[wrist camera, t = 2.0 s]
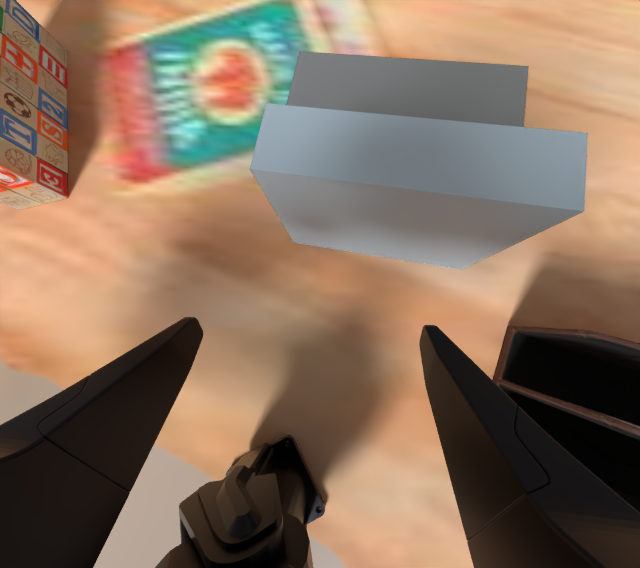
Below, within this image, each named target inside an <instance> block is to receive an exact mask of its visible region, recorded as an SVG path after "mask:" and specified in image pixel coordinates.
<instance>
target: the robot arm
mask: <svg viewBox="0 0 640 568" xmlns="http://www.w3.org/2000/svg"><path fill="white" fill-rule="evenodd" d="M202 338H203V330H202V328H201V326H200V324H199V322H198V320H197V319H196V318H195V317H185V318H183V319H182V320H180V321H178V322H177V323H175V324H173V325H172V326H170V327H168V328H167V329H165V330H163V331H162V332H160V333H158V334H157V335H155V336H153V337H152V338H150V339H148V340H147V341H145V342H143V343H142V344H140V345H138V346H137V347H135V348H133V349H132V350H130V351H128V352H127V353H125V354H123V355H122V356H120V357H118V358H117V359H115V360H114V361H112V362H110V363H109V364H107V365H105V366H104V367H102V368H100V369H99V370H97V371H95V372H94V373H92V374H91V375H90V376H87V377H85V378H84V379H82V380H80V381H79V382H77V383H75V384H74V385H72V386H70V387H68V388H67V389H65V390H63V391H62V392H60V393H58V394H56V395H55V396H53V397H51V398H49V399H47V400H46V401H44V402H42V403H40V404H39V405H37V406H35V407H33V408H31V409H29V410H27V411H26V412H24V413H22V414H20V415H18V416H16V417H15V418H13V419H11V420H9V421H7V422H5V423H3V424H2V425H0V568H93V567H94V564H95V563H96V560H97V558H98V556H99V554H100V552H101V550H102V548H103V546H104V544H105V542H106V540H107V538H108V536H109V534H110V532H111V530H112V528H113V526H114V524H115V522H116V520H117V518H118V516H119V513H120V512H121V510H122V508H123V506H124V504H125V502H126V500H127V498H128V496H129V492H130V491H131V489H132V487H133V485H134V483H135V481H136V479H137V477H138V475H139V473H140V471H141V469H142V467H143V465H144V463H145V461H146V459H147V457H148V455H149V453H150V451H151V449H152V447H153V445H154V443H155V441H156V439H157V437H158V435H159V433H160V431H161V429H162V427H163V425H164V423H165V420H166V418H167V416H168V414H169V412H170V410H171V408H172V406H173V404H174V402H175V400H176V398H177V396H178V394H179V392H180V390H181V388H182V386H183V384H184V382H185V380H186V378H187V376H188V374H189V372H190V369H191V367H192V365H193V362H194V359H195V357H196V354H197V351H198V349H199V346H200V343H201V340H202ZM420 351H421V358H422V365H423V372H424V379H425V385H426V389H427V393H428V397H429V401H430V405H431V408H432V412H433V416H434V419H435V423H436V427H437V431H438V434H439V438H440V442H441V446H442V449H443V453H444V457H445V460H446V464H447V468H448V472H449V475H450V479H451V483H452V487H453V490H454V494H455V498H456V501H457V505H458V509H459V513H460V516H461V520H462V524H463V527H464V531H465V535H466V539H467V540H468V542H467V543H468V547H469V550H470V554H471V558H472V562H473V565H474V568H640V512H638V511H637V510H636V509H635V508H633V507H632V506H631V505H630V504H629V503H627V502H626V501H625V500H624V499H623V498H622V497H620V496H619V495H618V494H617V493H616V492H615V491H613V490H612V489H611V488H610V487H609V486H607V485H606V484H605V483H604V482H603V481H602V480H600V479H599V478H598V477H597V476H596V475H595V474H593V473H592V472H591V471H590V470H589V469H588V468H586V467H585V466H584V465H583V464H582V463H581V462H579V461H578V460H577V459H576V458H575V457H573V456H572V455H571V454H570V453H569V452H568V451H567V450H565V449H564V448H563V447H562V446H561V445H560V444H559V443H558V442H556V441H555V440H554V439H553V438H552V437H551V436H550V435H548V434H547V433H546V432H545V431H544V430H543V429H542V428H541V427H540V426H539V425H538V424H537V423H536V422H535V421H534V420H533V419H531V418H530V417H529V416H528V415H527V414H526V413H525V412H524V411H523V410H522V409H521V408H520V407H517V404H516V403H515V402H514V401H513V400H512V399H511V398H510V397H509V396H508V395H507V394H506V393H505V392H504V391H503V390H502V389H501V388H500V387H499V386H498V385H496V384H495V383H494V382H493V381H492V380H491V379H490V378H489V377H488V376H487V375H486V374H485V373H484V372H483V371H482V370H481V369H480V368H479V367H478V366H477V365H476V364H475V363H474V362H473V361H472V360H471V359H470V358H469V357H468V356H467V355H466V354H465V353H464V352H463V351H462V350H461V349H460V348H459V347H458V346H457V345H456V344H454V343H453V342H452V341H451V340H450V339H449V338H448V337H447V336H446V335H445V334H444V333H443V332H442V331H441V330H440V329H439V328H438V327H437V326H435V325H425V326H424V327H423V329H422V333H421V338H420ZM286 441H290V443H291V444H290V445H288V444H287V443H286ZM317 506H320V507H321V509H320V510H318V509H317V508H316V507H317ZM324 511H325V504H324V502H323V499H322V497H321V495H320V493H319V491H318V489H317V487H316V485H315V483H314V480H313V478H312V476H311V474H310V472H309V470H308V468H307V466H306V464H305V461H304V459H303V457H302V455H301V453H300V451H299V449H298V447H297V445H296V442H295V440H294V438H293V437H292V436H289V435H288V436H285V437H283V438H282V439H280V440H278V441H276V442H275V443H273V444H271V445H270V444H268V443H265V444H263V445H261V446H259V447H257V448H256V449H254V450H252V451H250V452H249V453H247V454H245V455H243V456H242V457H241V458H240V459H239V461H238V462H237V463H236V464H235V465H233V466H232V467H230V468H229V470H228V471H227V473H226V477H225V478H224V479H223V480H221V481H214V482H209V483H206V484H205V485H204V486H202V487H200V488H199V489H198V490H197V491H196V492H194V493H193V494H192V495H191V496H189V497H188V498H187V499H185V500H184V501H182V503H180V505H179V512H180V530H181V544H180V545H179V546H177V547H175V548H174V549H172V550H171V551H170V552H169V553H168V554H167V555H166V556H165V557H164V558H163V559H162V560H161V562H160V563H159V564H158V565H157V566H156V567H155V568H313V563H312V556H311V548H310V541H309V537H308V533H307V529H306V528H307V524H308V523H310V522H312V521H314V520H315V519H317V518H319V517H321V516H322V515H323V514H324Z"/></svg>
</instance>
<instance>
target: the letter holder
mask: <svg viewBox="0 0 640 568" xmlns="http://www.w3.org/2000/svg"><path fill="white" fill-rule="evenodd" d="M493 382H494V383H495V384H496V385H498V386H499V387H500V388H501V389H502V390H503V391H504V392H505V393H506V394H507V395H508V396H509V397H510V398H511V399H512V400H513V401H514V402H515V403H516V404H517V407H520V408H521V409H522V410H523V411H524V412H525V413H526V414H527V415H528V416H529V417H530V418H531V419H533V420H534V421H535V422H536V423H537V424H538V425H539V426H540V427H541V428H542V429H543V430H544V431H545V432H546V433H547V434H548V435H550V436H551V437H552V438H553V439H554V440H555V441H556V442H558V443H559V444H560V445H561V446H562V447H563V448H564V449H565V450H567V451H568V452H569V453H570V454H571V455H572V456H573V457H575V458H576V459H577V460H578V461H579V462H581V463H582V464H583V465H584V466H585V467H586V468H588V469H589V470H590V471H591V472H592V473H593V474H595V475H596V476H597V477H598V478H599V479H600V480H602V481H603V482H604V483H605V484H606V485H607V486H609V487H610V488H611V489H612V490H613V491H615V492H616V493H617V494H618V495H619V496H620V497H622V498H623V499H624V500H625V501H626V502H627V503H629V504H630V505H631V506H632V507H633V508H635V509H636V510H637V511H638V512H640V344H639V343H635V342H631V341H628V340H624V339H620V338H617V337H613V336H609V335H605V334H601V333H597V332H592V331H584V330H572V329H554V328H537V327H516V326H509V327H507V333H506V336H505V340H504V343H503V347H502V350H501V354H500V358H499V361H498V365H497V368H496V372H495V375H494V379H493Z"/></svg>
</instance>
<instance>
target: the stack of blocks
mask: <svg viewBox="0 0 640 568" xmlns="http://www.w3.org/2000/svg"><path fill="white" fill-rule="evenodd" d="M67 151H68V131H67V51H66V49H65V48H64V47H63V46H62V45H61V44H60V43H59V42H58V41H56V40H55V39H54V38H53V37H52V35H51V34H50V33H49V32H48V31H47V30H46V29H45V28H44V27H43V26H41V25H40V24H39V23H38V22H37V21H36V20H35V19H34V18H33V17H32V16H31V15H30V14H29V13H28V12H27V11H26V10H25V9H24V8H23V7H22V6H21V5H20V4H19V3H18V2H17V1H16V0H0V203H2V204H5V205H7V206H10V207H13V208H16V209H19V210H21V209H25V208H29V207H33V206H37V205H41V204H46V203H50V202H54V201H58V200H62V199H65V198H67V196H68V194H67V175H66V174H68V153H67Z"/></svg>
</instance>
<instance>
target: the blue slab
mask: <svg viewBox="0 0 640 568" xmlns="http://www.w3.org/2000/svg"><path fill="white" fill-rule="evenodd" d="M587 134H588V133H582V132H571V131H560V130H549V129H538V128H527V127H517V126H506V125H495V124H484V123H473V122H462V121H451V120H441V119H430V118H419V117H408V116H397V115H386V114H375V113H365V112H354V111H343V110H332V109H321V108H310V107H299V106H288V105H278V104H266V108H265V112H264V116H263V120H262V124H261V127H260V131H259V135H258V139H257V143H256V147H255V151H254V154H253V158H252V162H251V166H250V170H251V172H252V174H253V175H254V177H255V179H256V180H257V182H258V184H259V185H260V187H261V189H262V190H263V192H264V194H265V195H266V197H267V199H268V200H269V202H270V204H271V205H272V207H273V209H274V210H275V212H276V214H277V215H278V217H279V219H280V220H281V222H282V224H283V225H284V227H285V229H286V230H287V232H288V234H289V235H290V237H291V239H292V240H293V242H294V243H298V244H305V245H311V246H317V247H323V248H329V249H336V250H342V251H348V252H354V253H360V254H367V255H373V256H379V257H385V258H391V259H397V260H404V261H410V262H416V263H422V264H428V265H435V266H441V267H447V268H453V269H459V270H462V269H464V268H466V267H468V266H470V265H472V264H474V263H476V262H479V261H481V260H483V259H485V258H487V257H489V256H491V255H493V254H495V253H497V252H500V251H502V250H504V249H506V248H508V247H510V246H512V245H514V244H516V243H519V242H521V241H523V240H525V239H527V238H529V237H531V236H533V235H535V234H538V233H540V232H542V231H544V230H546V229H548V228H550V227H552V226H554V225H557V224H559V223H561V222H563V221H565V220H567V219H569V218H571V217H573V216H575V215H578V214H580V213H582V212H584V204H585V181H586V157H587Z"/></svg>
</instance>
